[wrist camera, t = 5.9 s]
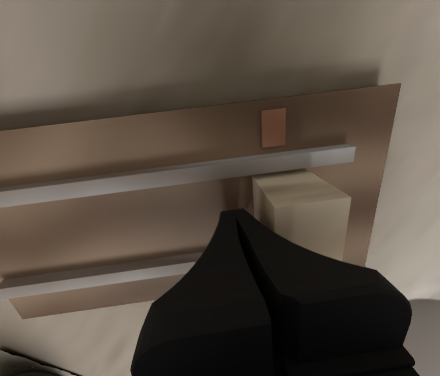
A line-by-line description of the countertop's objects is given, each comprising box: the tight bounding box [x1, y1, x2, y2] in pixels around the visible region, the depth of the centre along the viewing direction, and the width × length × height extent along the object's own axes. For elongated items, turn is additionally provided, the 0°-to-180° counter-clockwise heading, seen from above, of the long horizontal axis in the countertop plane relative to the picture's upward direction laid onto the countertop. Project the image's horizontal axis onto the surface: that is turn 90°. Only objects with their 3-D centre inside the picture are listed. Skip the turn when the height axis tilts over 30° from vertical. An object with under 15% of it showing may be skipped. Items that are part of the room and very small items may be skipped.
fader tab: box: [252, 169, 351, 261], centre depth 10 cm, size 4×3×4 cm
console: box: [0, 83, 401, 319], centre depth 12 cm, size 12×24×2 cm, turn 96°
